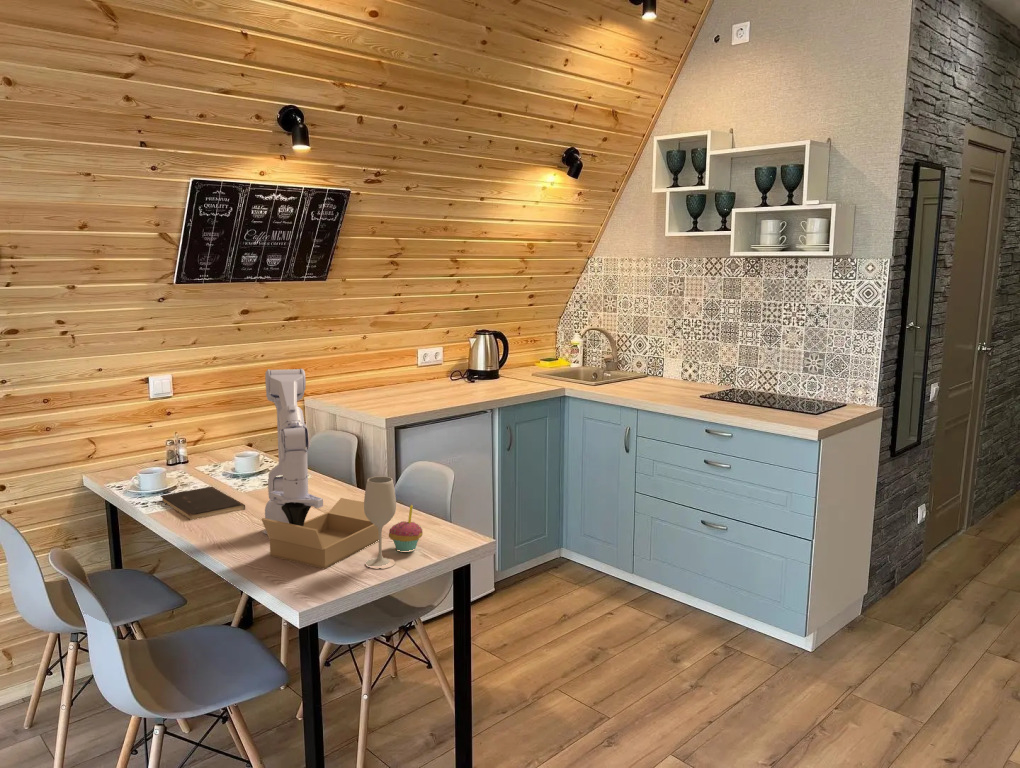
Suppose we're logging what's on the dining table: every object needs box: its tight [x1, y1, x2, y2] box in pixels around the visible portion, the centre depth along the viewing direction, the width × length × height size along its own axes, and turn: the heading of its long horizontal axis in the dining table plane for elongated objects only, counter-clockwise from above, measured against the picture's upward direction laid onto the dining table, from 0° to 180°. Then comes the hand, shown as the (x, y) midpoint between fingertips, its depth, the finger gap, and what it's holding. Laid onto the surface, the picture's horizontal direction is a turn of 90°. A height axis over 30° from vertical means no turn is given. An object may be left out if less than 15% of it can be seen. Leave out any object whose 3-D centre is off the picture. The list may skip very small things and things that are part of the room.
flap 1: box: [261, 517, 324, 550], centre depth 186 cm, size 17×6×1 cm
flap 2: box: [328, 497, 369, 520], centre depth 209 cm, size 17×6×1 cm, turn 64°
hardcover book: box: [160, 486, 246, 521], centre depth 230 cm, size 16×23×2 cm
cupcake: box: [388, 503, 424, 551], centre depth 197 cm, size 9×8×12 cm
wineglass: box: [363, 475, 397, 566], centre depth 187 cm, size 8×8×21 cm
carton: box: [269, 511, 379, 570], centre depth 198 cm, size 17×22×5 cm
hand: (297, 532), depth 187 cm, fingers closed, pressing on flap 1
